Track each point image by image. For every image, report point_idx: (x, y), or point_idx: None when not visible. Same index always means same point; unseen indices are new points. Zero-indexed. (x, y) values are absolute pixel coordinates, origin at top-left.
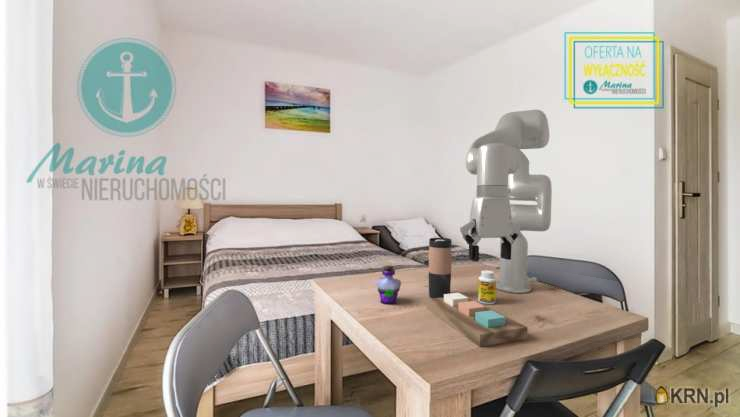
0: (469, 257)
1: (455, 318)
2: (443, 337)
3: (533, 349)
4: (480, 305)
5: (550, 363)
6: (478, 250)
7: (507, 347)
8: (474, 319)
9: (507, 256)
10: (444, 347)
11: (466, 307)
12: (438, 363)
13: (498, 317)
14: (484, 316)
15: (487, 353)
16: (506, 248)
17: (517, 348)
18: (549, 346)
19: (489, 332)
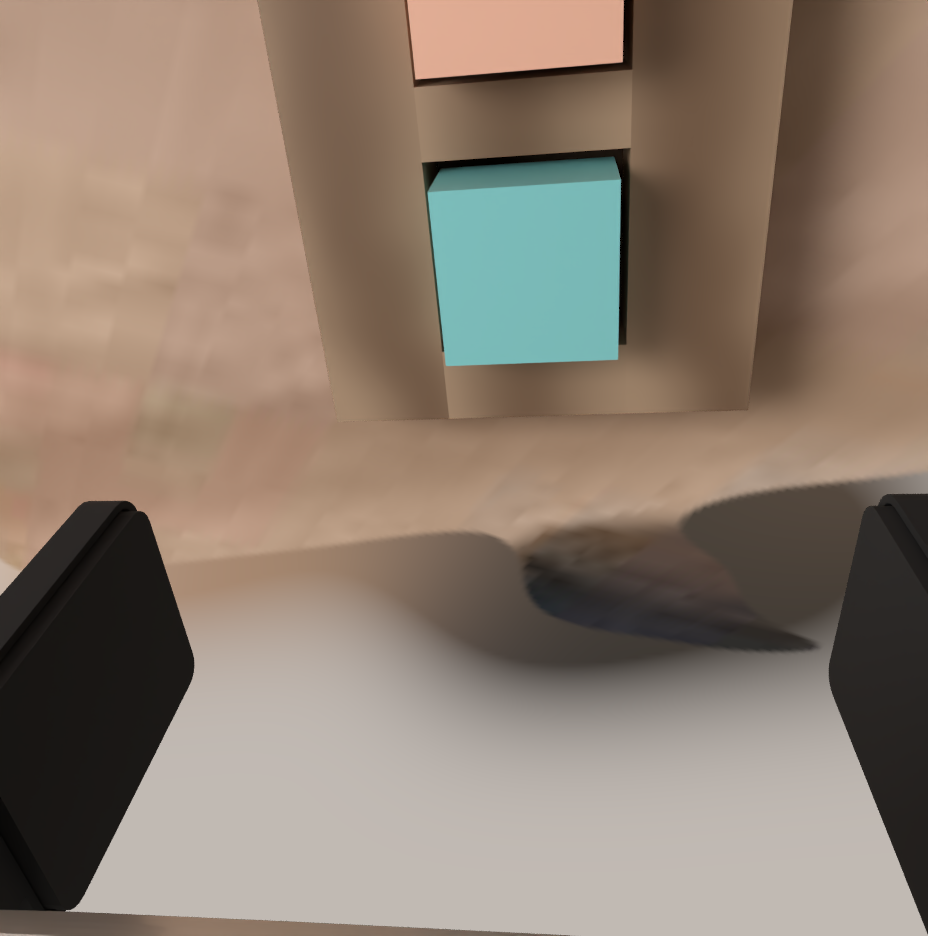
0: (75, 526)
1: (275, 96)
2: (168, 201)
3: (649, 484)
4: (595, 6)
5: (612, 604)
6: (104, 835)
7: (518, 429)
8: (438, 159)
9: (844, 703)
10: (139, 335)
11: (411, 22)
12: (70, 473)
13: (557, 351)
14: (455, 301)
15: (361, 455)
16: (918, 818)
17: (567, 453)
18: (775, 481)
19: (417, 411)
